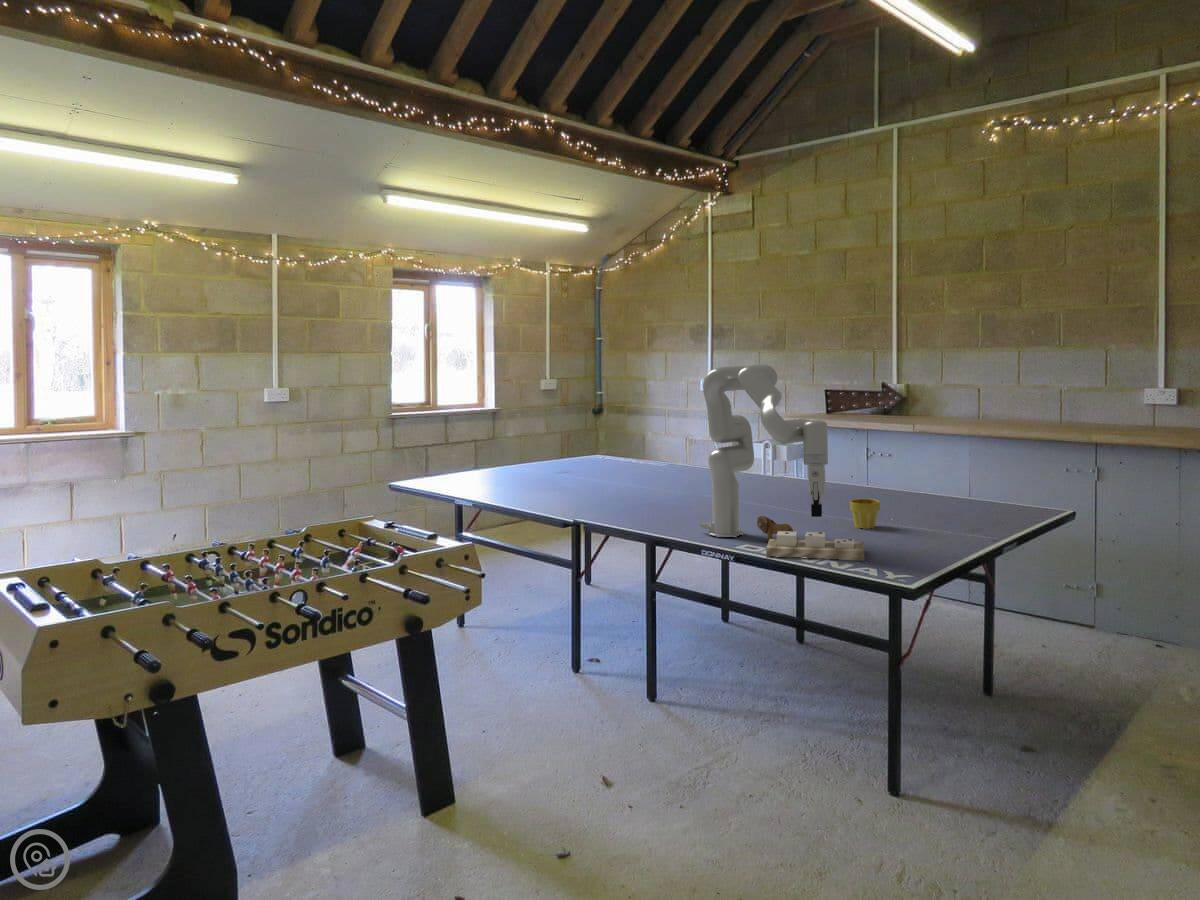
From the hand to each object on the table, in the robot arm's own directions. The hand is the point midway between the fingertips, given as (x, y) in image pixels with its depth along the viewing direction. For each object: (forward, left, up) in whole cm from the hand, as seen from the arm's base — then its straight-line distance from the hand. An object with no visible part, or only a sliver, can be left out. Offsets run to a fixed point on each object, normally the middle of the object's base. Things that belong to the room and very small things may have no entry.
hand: (816, 516), depth 277 cm
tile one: (-9, 0, -10) cm, 14 cm away
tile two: (0, 0, -10) cm, 10 cm away
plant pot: (+16, +43, -13) cm, 48 cm away
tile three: (+9, 0, -12) cm, 15 cm away
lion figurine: (-14, +15, -13) cm, 24 cm away
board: (0, 0, -13) cm, 13 cm away
